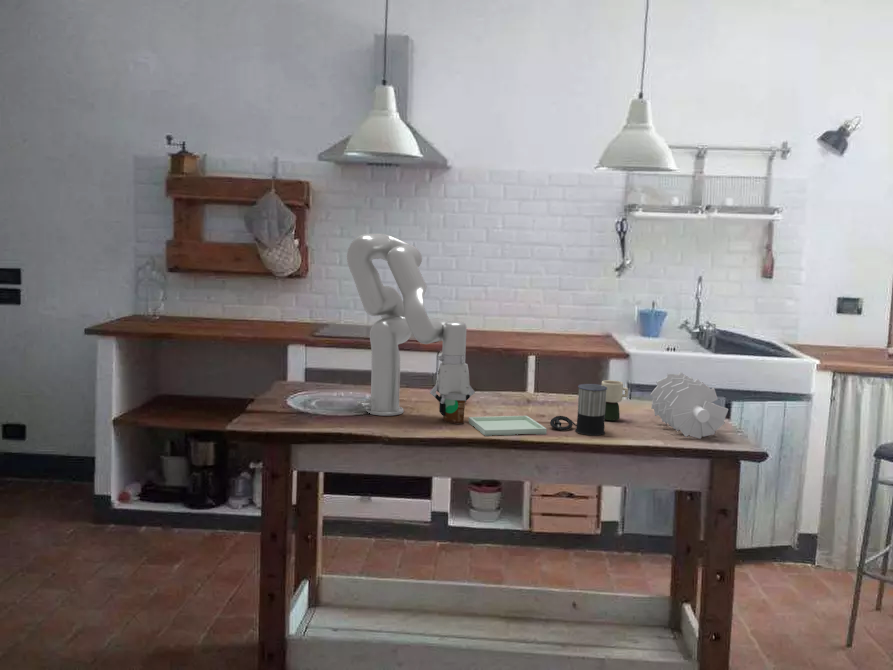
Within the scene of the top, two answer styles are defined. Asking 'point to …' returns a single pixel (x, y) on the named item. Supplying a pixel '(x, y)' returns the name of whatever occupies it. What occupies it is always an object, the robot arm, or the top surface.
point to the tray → (506, 425)
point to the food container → (454, 407)
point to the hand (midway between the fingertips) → (451, 414)
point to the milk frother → (587, 411)
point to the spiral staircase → (688, 405)
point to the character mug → (613, 398)
